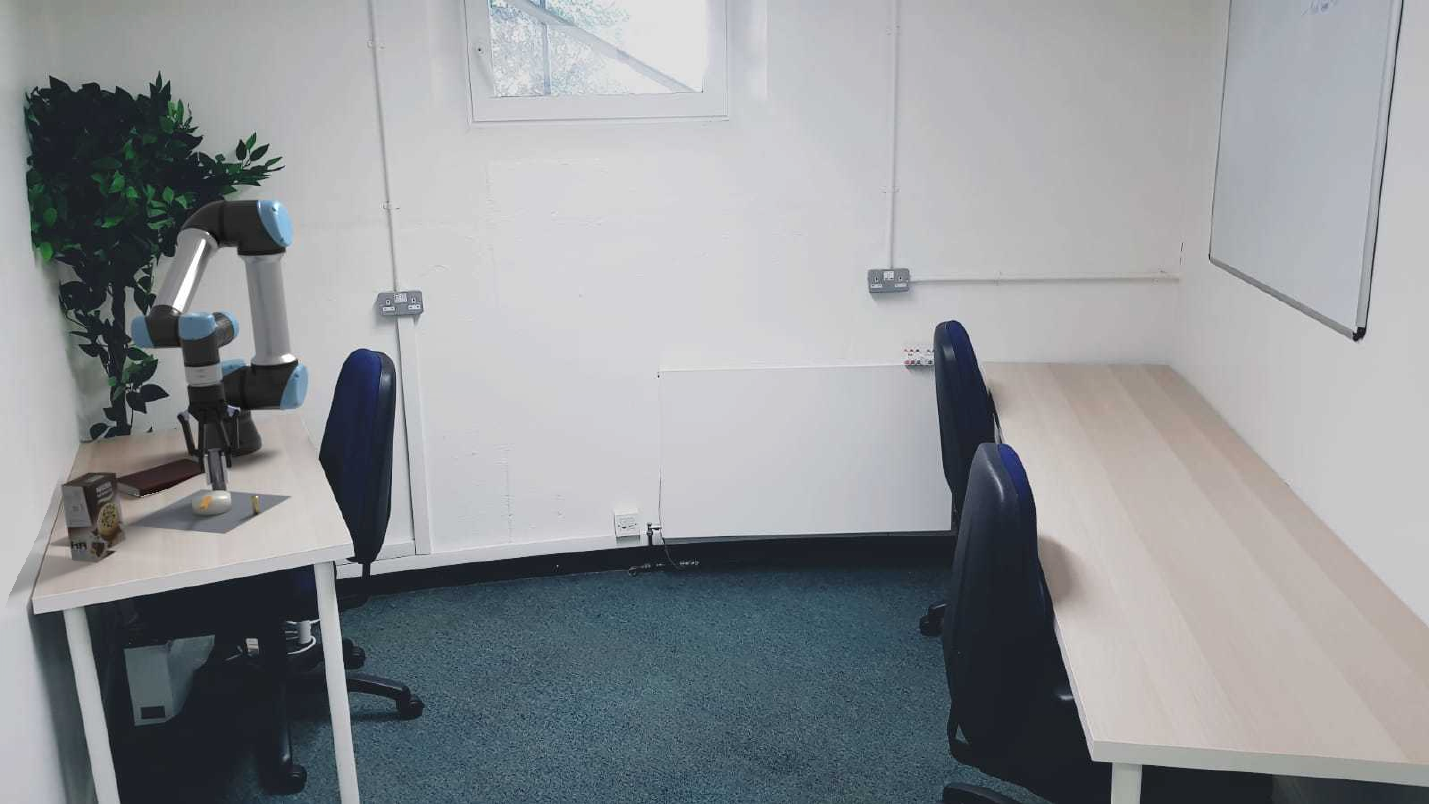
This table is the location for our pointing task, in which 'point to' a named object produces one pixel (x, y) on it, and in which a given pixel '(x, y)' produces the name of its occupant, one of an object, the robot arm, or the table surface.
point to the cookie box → (93, 515)
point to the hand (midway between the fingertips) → (218, 482)
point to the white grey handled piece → (213, 489)
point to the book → (159, 477)
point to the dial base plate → (185, 519)
